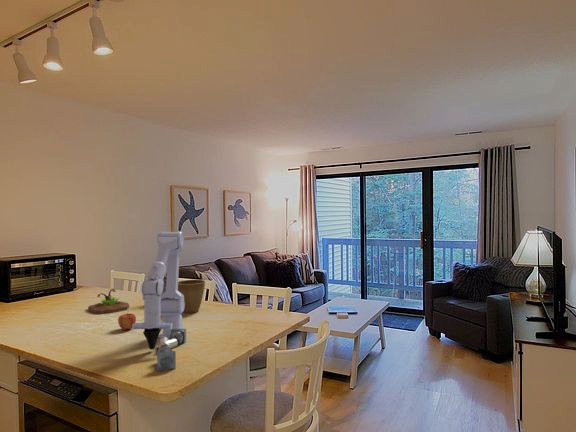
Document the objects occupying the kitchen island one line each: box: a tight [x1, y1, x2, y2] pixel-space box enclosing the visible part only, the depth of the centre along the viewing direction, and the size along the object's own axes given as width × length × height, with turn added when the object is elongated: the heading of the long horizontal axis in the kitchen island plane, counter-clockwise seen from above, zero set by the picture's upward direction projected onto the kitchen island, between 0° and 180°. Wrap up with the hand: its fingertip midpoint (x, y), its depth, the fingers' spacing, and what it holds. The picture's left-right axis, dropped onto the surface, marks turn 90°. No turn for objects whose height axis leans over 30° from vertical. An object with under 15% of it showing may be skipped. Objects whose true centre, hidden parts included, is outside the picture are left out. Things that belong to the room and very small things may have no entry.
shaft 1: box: [156, 346, 177, 372], centre depth 126 cm, size 8×6×5 cm
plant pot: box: [178, 279, 206, 314], centre depth 200 cm, size 15×15×16 cm
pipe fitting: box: [158, 337, 179, 350], centre depth 142 cm, size 8×4×7 cm
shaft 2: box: [168, 328, 187, 345], centre depth 148 cm, size 4×6×5 cm
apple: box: [117, 313, 137, 331], centre depth 167 cm, size 7×7×8 cm
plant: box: [87, 288, 130, 315], centre depth 206 cm, size 20×20×11 cm
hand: (152, 348), depth 139 cm, fingers closed
